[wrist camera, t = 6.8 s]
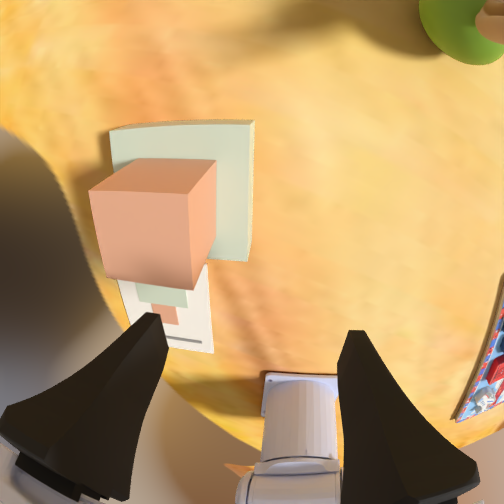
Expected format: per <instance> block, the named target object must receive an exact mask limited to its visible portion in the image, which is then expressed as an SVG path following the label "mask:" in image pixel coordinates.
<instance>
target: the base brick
mask: <svg viewBox="0 0 504 504" xmlns="http://www.w3.org/2000/svg"><path fill="white" fill-rule="evenodd" d="M254 128H255V120H233V119H213V120H180V121H162V122H149V123H138V124H129V125H126V126H123V127H120V128H117V129H114V130H111V131H109V134H110V145H111V154H112V163H113V171H114V173H115V172H117V171H119V170H120V169H122V168H123V167H125V166H127V165H128V164H130V163H132V162H133V161H135V160H136V159H138V158H170V159H204V160H217V169H216V238H215V240H214V242H213V245H212V247H211V249H210V252H209V254H208V256H207V259H220V260H233V261H246V262H247V261H248V256H249V251H250V247H251V242H252V208H253V168H254Z"/></svg>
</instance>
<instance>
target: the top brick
mask: <svg viewBox="0 0 504 504" xmlns="http://www.w3.org/2000/svg"><path fill="white" fill-rule="evenodd" d="M216 169H217V160H204V159H170V158H138V159H136V160H135V161H133V162H132V163H130V164H128V165H127V166H125V167H123V168H122V169H120V170H119V171H117V172H115V173H114V174H112V175H111V176H109V177H108V178H106V179H105V180H103V181H102V182H100V183H99V184H97V185H96V186H94V187H93V188H91V189H90V190H88V192H89V198H90V204H91V210H92V215H93V220H94V225H95V230H96V235H97V240H98V244H99V248H100V253H101V257H102V261H103V265H104V269H105V273H106V276H107V278H111V279H117V280H124V281H130V282H136V283H142V284H149V285H156V286H163V287H169V288H177V289H184V290H191V291H194V288H195V286H196V283H197V281H198V278H199V276H200V273H201V271H202V269H203V266H204V264H205V261H206V259H207V256H208V254H209V252H210V249H211V247H212V245H213V242H214V240H215V238H216Z"/></svg>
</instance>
